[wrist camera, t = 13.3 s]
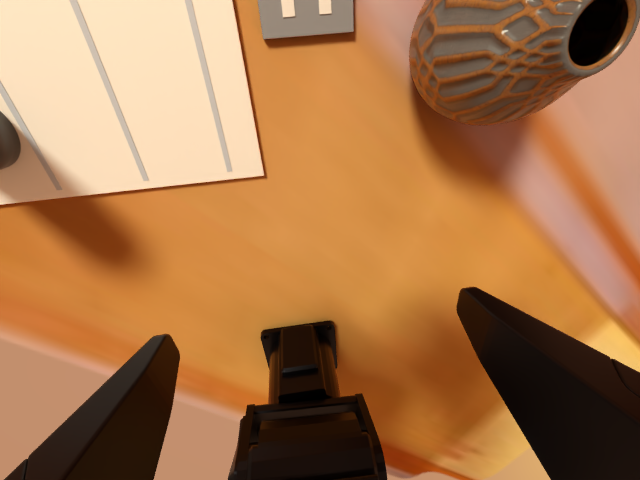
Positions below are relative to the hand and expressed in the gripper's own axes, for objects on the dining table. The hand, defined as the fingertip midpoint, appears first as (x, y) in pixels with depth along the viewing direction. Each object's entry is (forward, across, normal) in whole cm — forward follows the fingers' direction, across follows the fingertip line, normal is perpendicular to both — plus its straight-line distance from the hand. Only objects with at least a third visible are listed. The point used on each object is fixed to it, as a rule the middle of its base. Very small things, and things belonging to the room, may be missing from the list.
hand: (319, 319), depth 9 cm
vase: (+12, -10, -7) cm, 17 cm away
